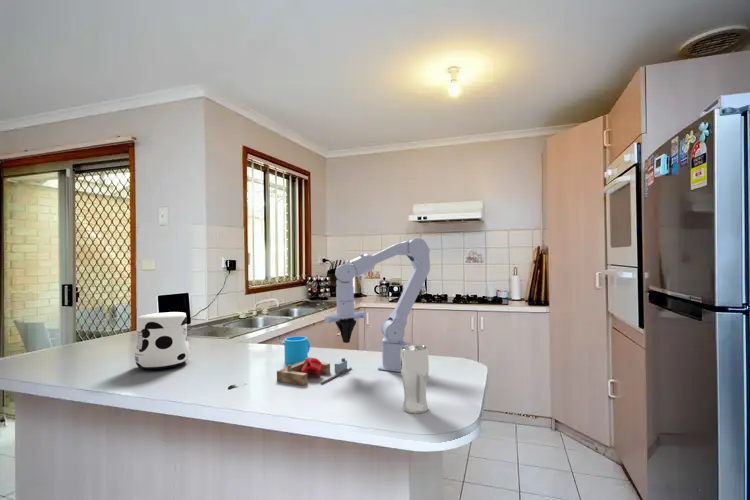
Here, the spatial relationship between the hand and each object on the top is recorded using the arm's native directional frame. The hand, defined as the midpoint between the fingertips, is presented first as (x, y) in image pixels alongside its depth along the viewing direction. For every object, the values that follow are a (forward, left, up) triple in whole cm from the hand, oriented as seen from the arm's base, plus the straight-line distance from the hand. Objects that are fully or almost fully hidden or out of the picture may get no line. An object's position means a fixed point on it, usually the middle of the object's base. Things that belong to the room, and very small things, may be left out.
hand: (346, 342), depth 133 cm
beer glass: (-33, +21, -10) cm, 40 cm away
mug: (+23, -5, -10) cm, 26 cm away
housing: (+7, +8, -9) cm, 14 cm away
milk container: (+63, +21, -10) cm, 67 cm away
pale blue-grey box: (+1, +2, -9) cm, 10 cm away
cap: (+7, +10, -10) cm, 15 cm away
